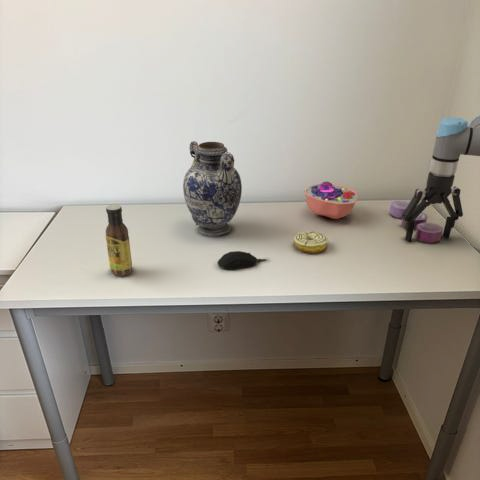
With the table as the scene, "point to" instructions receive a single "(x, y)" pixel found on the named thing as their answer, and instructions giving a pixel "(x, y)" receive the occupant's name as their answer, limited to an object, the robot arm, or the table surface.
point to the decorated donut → (310, 242)
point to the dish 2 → (428, 232)
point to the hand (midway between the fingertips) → (427, 238)
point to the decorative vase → (212, 188)
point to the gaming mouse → (237, 260)
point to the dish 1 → (398, 208)
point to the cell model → (330, 200)
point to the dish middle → (417, 220)
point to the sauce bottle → (118, 242)
